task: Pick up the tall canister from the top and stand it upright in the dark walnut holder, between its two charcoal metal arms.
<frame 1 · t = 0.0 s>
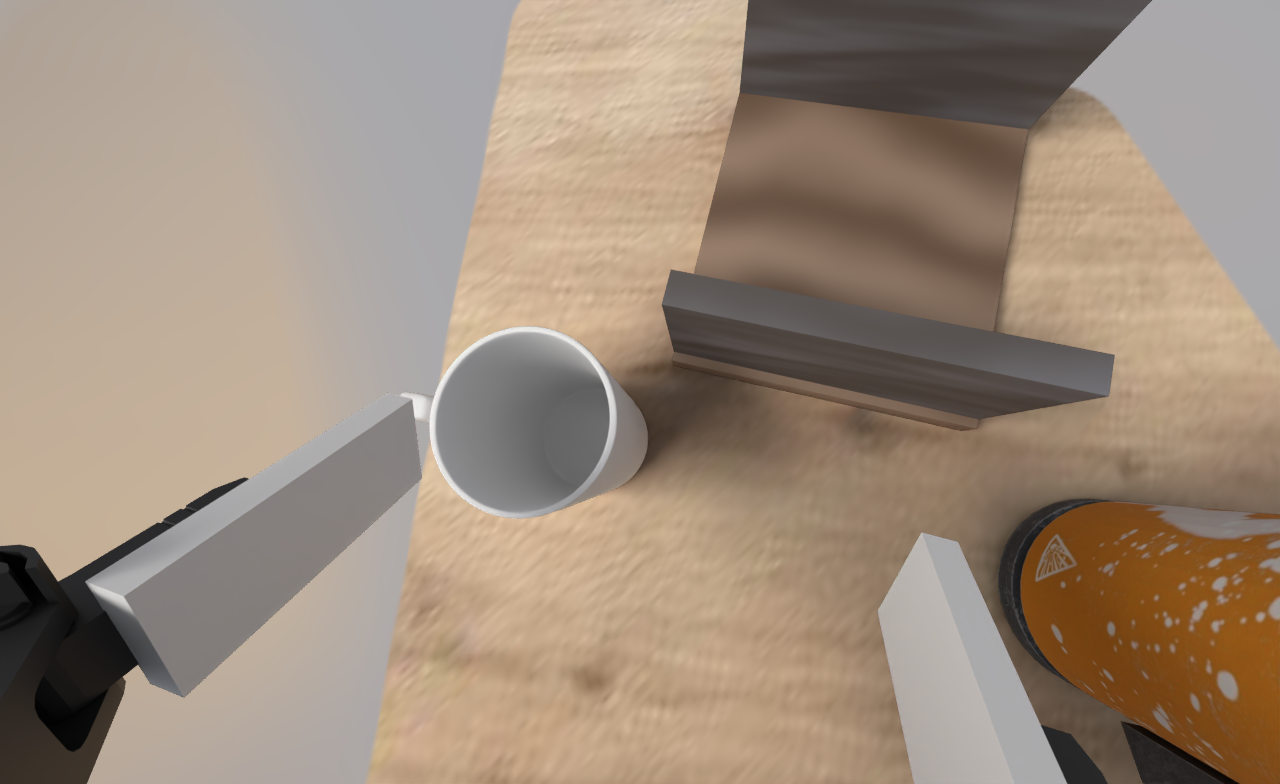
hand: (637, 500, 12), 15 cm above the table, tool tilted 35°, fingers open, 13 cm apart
canister: (1083, 610, 24), on the table
mug: (571, 435, 29), on the table
holder: (843, 241, 28), on the table
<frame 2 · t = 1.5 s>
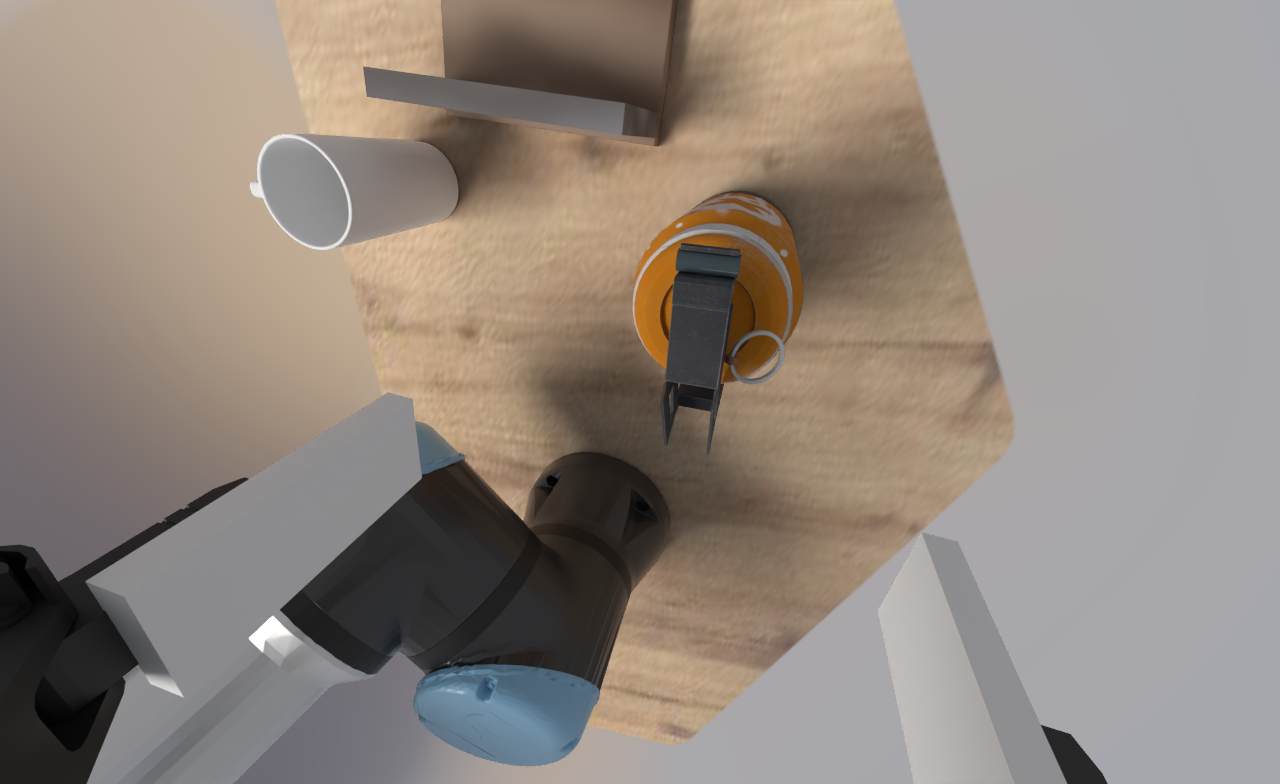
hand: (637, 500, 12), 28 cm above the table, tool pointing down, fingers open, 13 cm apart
canister: (731, 267, 37), on the table
mug: (411, 181, 41), on the table
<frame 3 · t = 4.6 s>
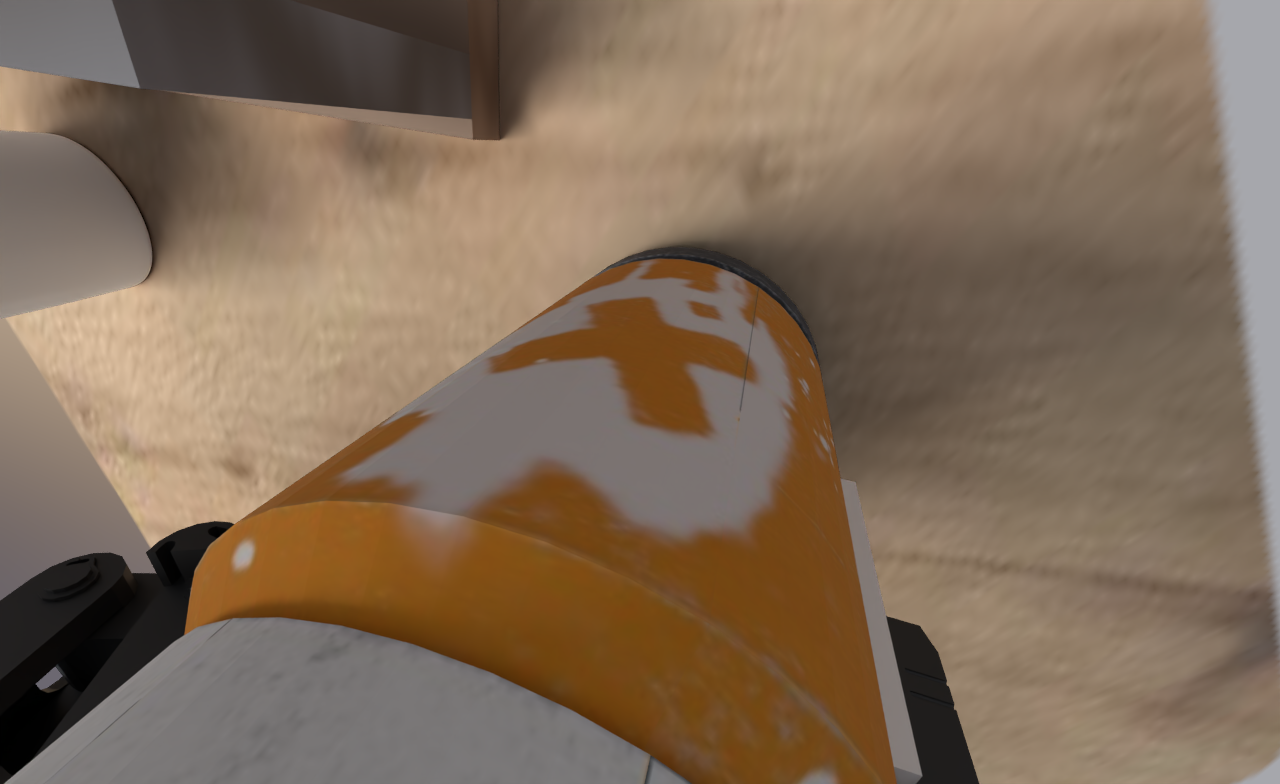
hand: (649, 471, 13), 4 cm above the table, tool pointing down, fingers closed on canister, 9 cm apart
canister: (681, 398, 17), on the table, touching gripper
mug: (71, 212, 21), on the table
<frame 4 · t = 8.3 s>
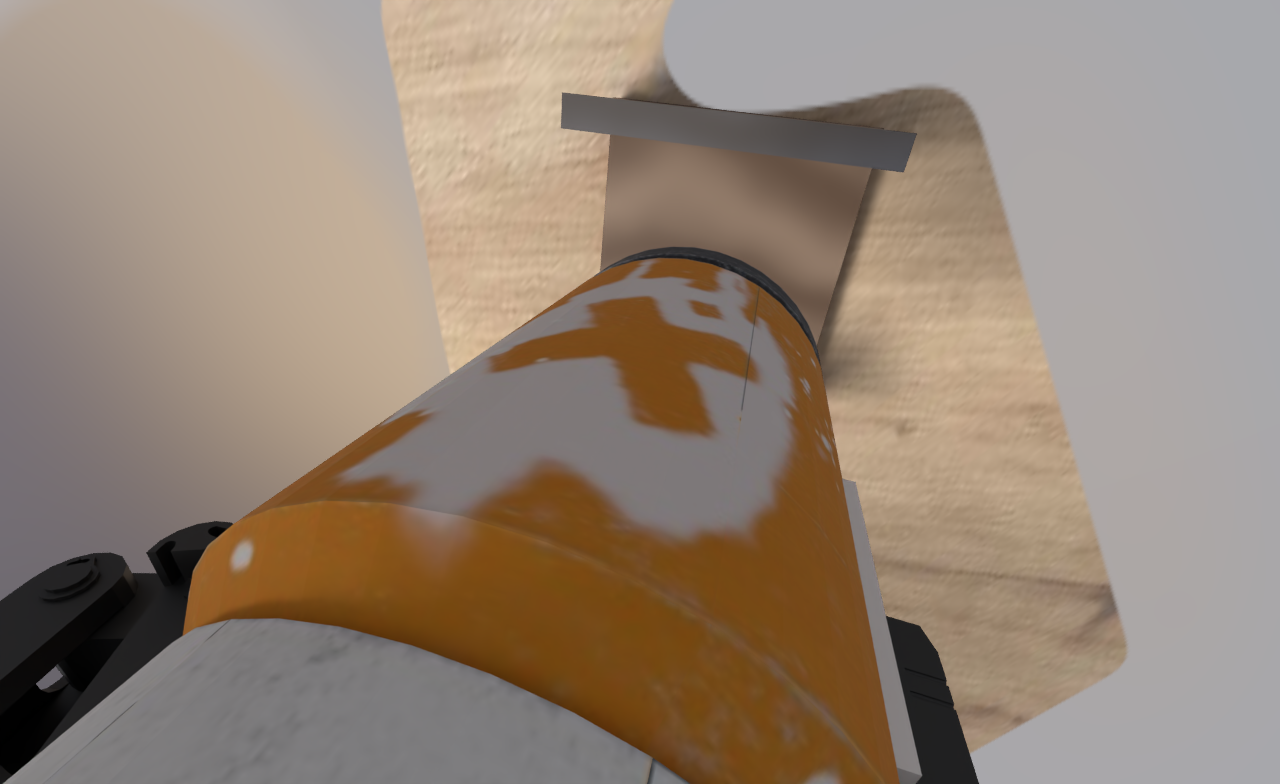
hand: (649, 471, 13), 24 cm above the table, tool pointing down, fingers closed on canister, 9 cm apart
canister: (681, 397, 17), point 19 cm above the table, touching gripper
holder: (715, 267, 34), on the table
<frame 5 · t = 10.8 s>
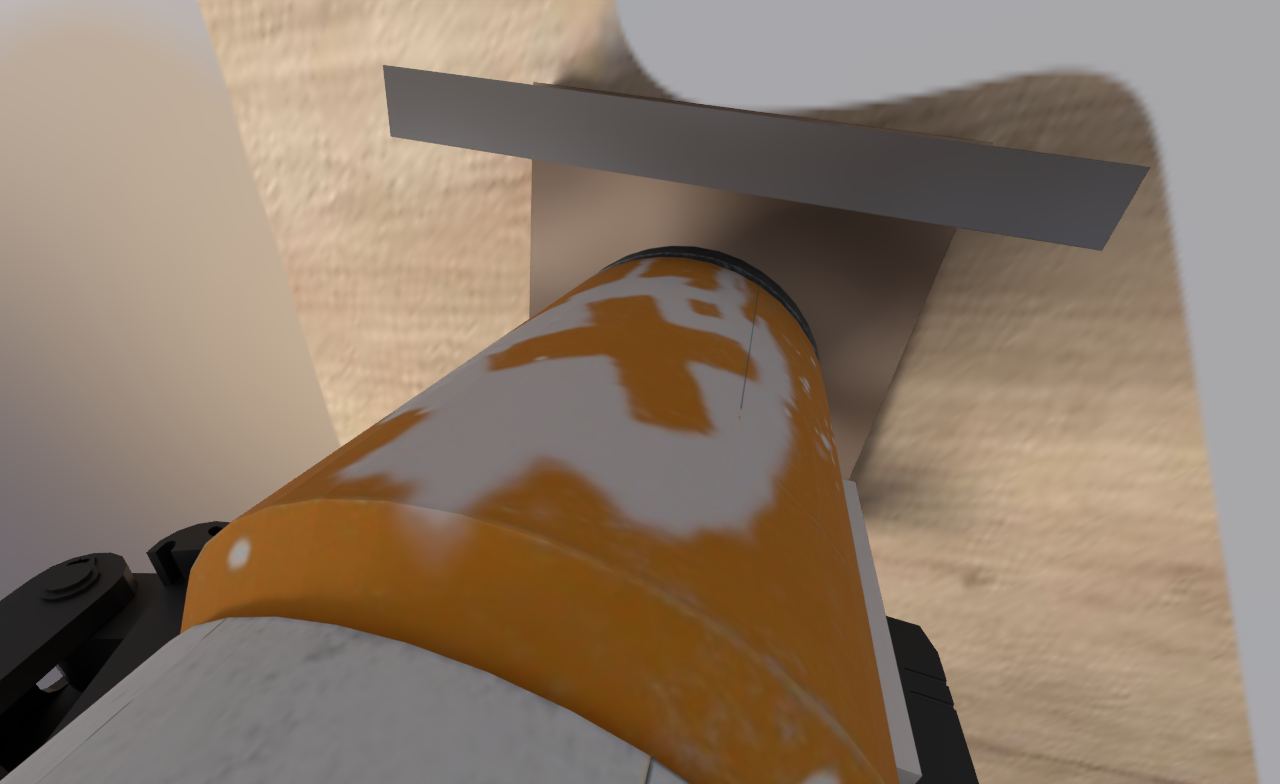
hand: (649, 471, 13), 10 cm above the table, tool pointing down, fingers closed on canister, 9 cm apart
canister: (681, 397, 17), point 6 cm above the table, touching gripper
holder: (700, 344, 22), on the table
when the fingers open (7 cm above the table, at t = 12.4 s): canister drops 1 cm, resting on holder.
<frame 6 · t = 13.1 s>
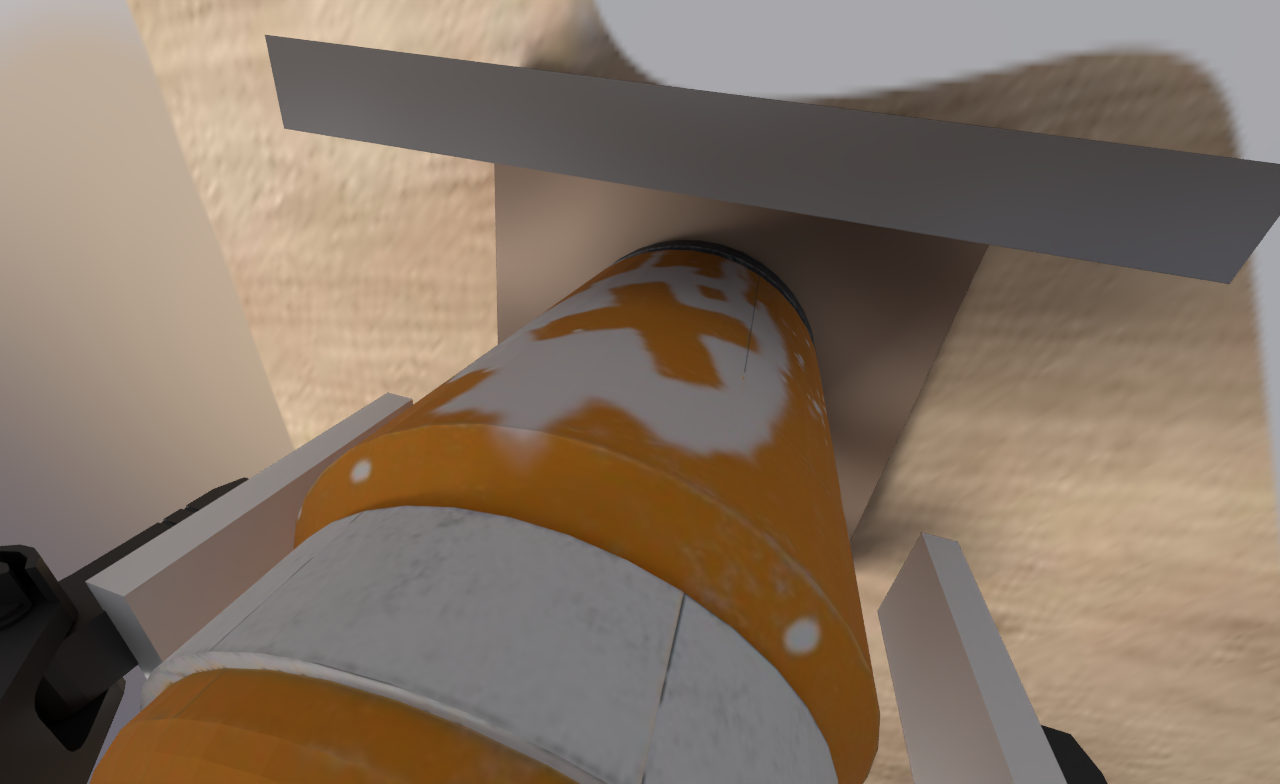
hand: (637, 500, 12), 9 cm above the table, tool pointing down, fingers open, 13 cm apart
canister: (687, 381, 19), point 1 cm above the table, touching holder
holder: (691, 367, 20), on the table
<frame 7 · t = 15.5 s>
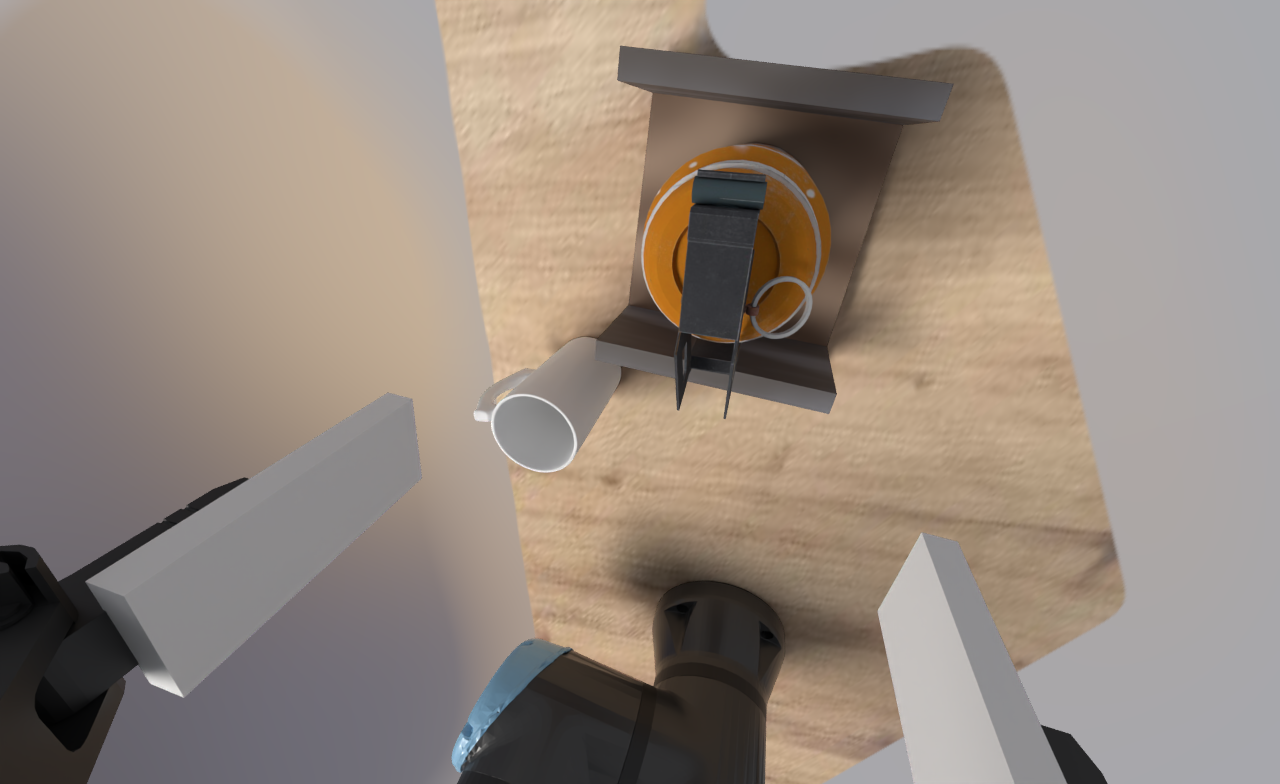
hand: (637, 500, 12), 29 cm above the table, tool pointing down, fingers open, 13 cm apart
canister: (746, 228, 35), point 1 cm above the table, touching holder
mug: (574, 364, 45), on the table
holder: (747, 225, 36), on the table
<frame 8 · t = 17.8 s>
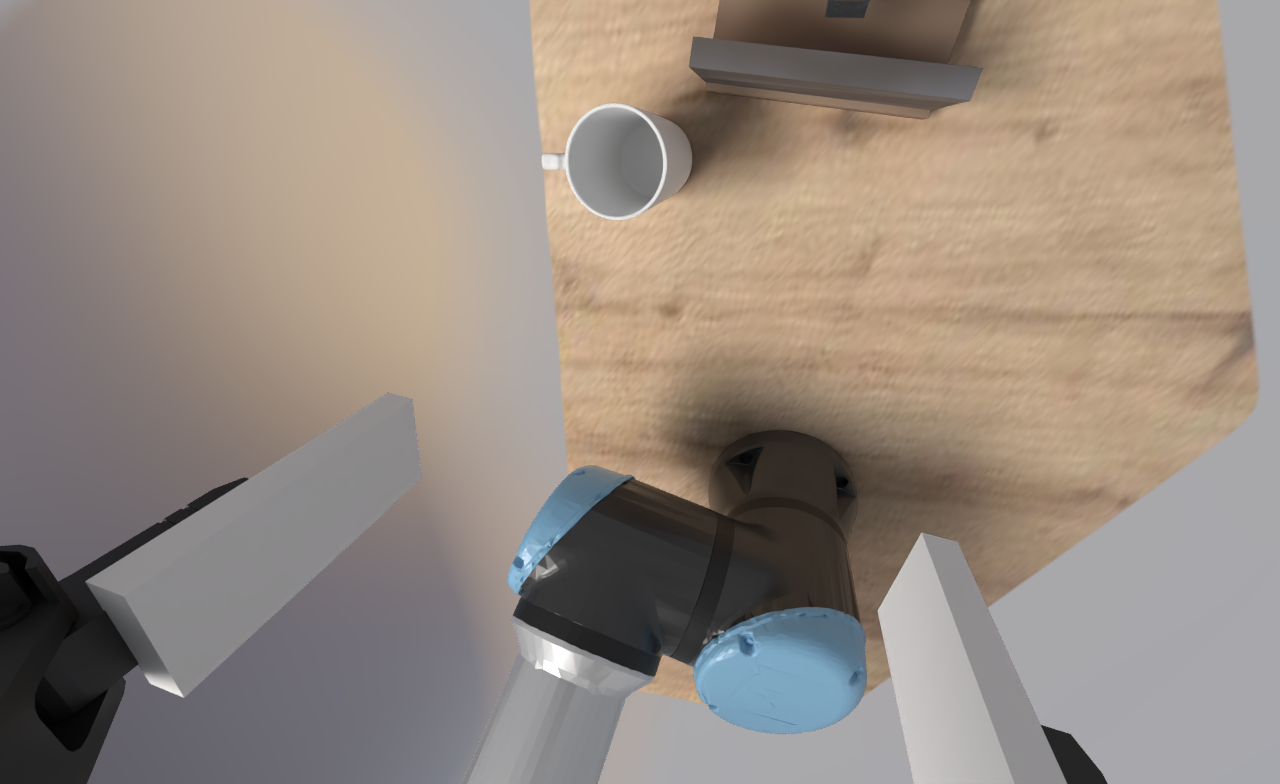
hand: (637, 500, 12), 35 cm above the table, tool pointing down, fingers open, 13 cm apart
mug: (638, 159, 41), on the table
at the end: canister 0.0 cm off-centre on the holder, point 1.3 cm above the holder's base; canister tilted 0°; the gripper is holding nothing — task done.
